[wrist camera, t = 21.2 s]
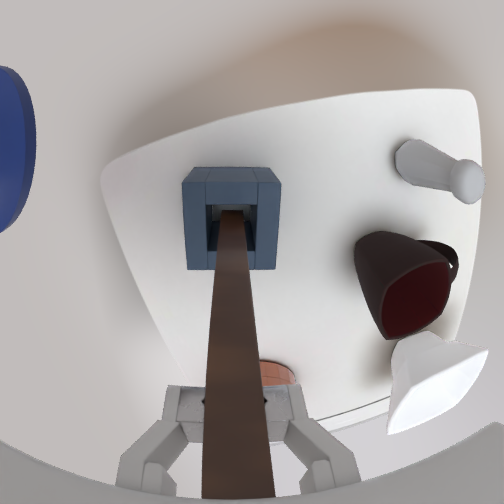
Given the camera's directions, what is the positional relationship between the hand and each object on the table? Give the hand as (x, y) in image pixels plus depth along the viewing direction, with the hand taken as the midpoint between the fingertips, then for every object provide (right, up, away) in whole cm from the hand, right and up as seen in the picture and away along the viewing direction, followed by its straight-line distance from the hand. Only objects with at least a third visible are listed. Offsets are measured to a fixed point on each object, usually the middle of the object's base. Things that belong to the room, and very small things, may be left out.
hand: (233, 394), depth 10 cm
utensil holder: (-2, +11, +22) cm, 25 cm away
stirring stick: (-1, +9, +17) cm, 19 cm away
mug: (+19, +6, +26) cm, 33 cm away
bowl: (+31, -13, +37) cm, 50 cm away
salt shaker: (+20, +17, +21) cm, 34 cm away
